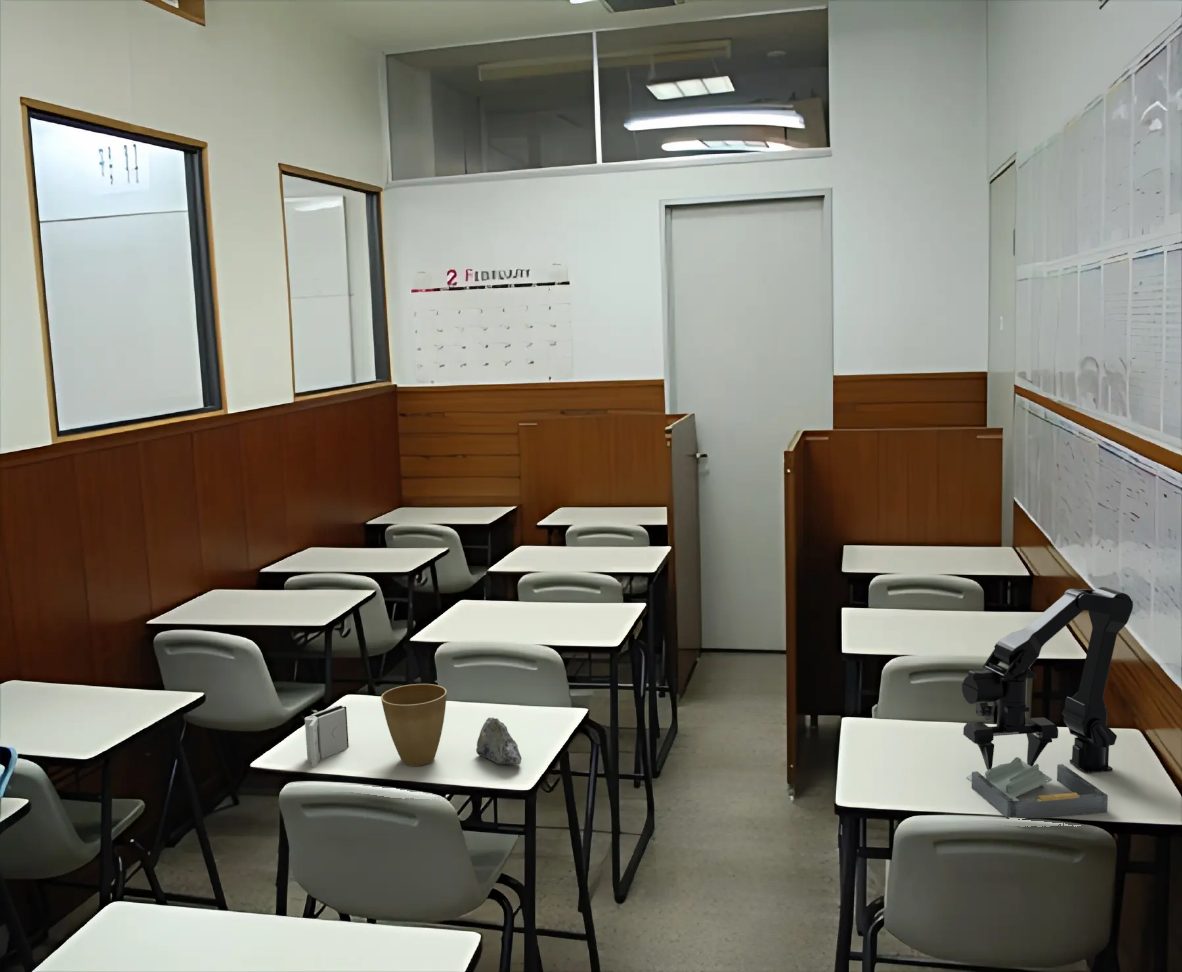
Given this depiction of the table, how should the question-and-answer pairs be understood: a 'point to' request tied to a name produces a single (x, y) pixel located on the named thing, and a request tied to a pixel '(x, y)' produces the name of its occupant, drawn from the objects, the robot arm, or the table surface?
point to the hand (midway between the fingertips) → (1009, 768)
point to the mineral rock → (497, 743)
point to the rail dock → (1046, 798)
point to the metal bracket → (1015, 778)
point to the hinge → (326, 733)
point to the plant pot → (415, 720)
